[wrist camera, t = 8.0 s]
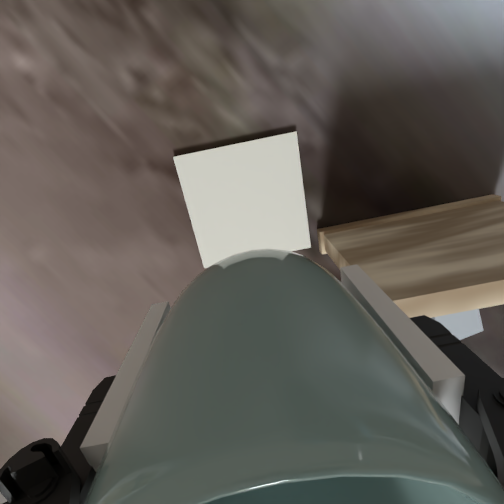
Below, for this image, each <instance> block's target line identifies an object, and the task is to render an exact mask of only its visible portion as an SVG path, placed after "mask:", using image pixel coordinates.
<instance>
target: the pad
mask: <svg viewBox="0 0 504 504" xmlns="http://www.w3.org/2000/svg"><path fill="white" fill-rule="evenodd" d="M173 158H174V162H175V166H176V169H177V173H178V176H179V180H180V183H181V187H182V191H183V194H184V198H185V201H186V205H187V208H188V212H189V216H190V219H191V223H192V226H193V230H194V233H195V237H196V241H197V244H198V248H199V251H200V255H201V258H202V262H203V266H204V268H208V267H210V266H211V265H213V264H214V263H216V262H218V261H220V260H222V259H224V258H227V257H229V256H231V255H233V254H237V253H241V252H244V251H248V250H255V249H266V248H268V249H280V250H287V251H295V250H300V249H305V248H310V247H311V244H310V236H309V228H308V220H307V212H306V204H305V196H304V188H303V180H302V172H301V164H300V155H299V147H298V139H297V131H296V132H291V133H286V134H281V135H276V136H271V137H267V138H262V139H257V140H252V141H247V142H242V143H237V144H233V145H228V146H223V147H218V148H213V149H208V150H204V151H199V152H194V153H189V154H184V155H179V156H175V157H173Z"/></svg>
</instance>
